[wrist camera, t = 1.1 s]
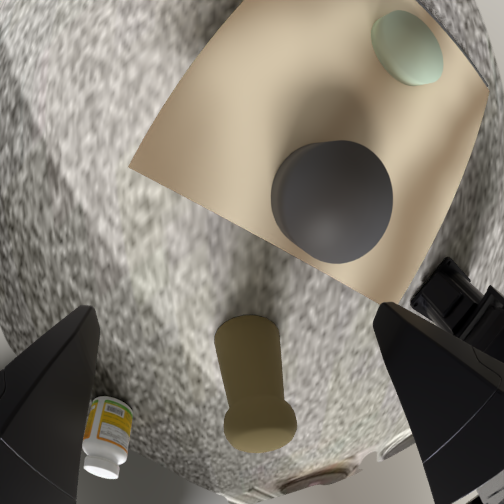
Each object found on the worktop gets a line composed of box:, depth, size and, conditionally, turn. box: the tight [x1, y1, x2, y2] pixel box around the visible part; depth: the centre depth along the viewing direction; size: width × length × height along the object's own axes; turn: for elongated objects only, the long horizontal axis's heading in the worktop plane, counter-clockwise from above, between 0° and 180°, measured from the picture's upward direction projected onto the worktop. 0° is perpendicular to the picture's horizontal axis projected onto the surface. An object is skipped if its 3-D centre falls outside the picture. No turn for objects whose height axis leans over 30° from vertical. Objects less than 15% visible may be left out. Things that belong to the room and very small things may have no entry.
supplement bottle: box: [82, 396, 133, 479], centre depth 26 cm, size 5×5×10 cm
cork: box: [214, 315, 297, 453], centre depth 22 cm, size 6×6×11 cm
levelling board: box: [129, 0, 490, 304], centre depth 12 cm, size 16×18×4 cm
